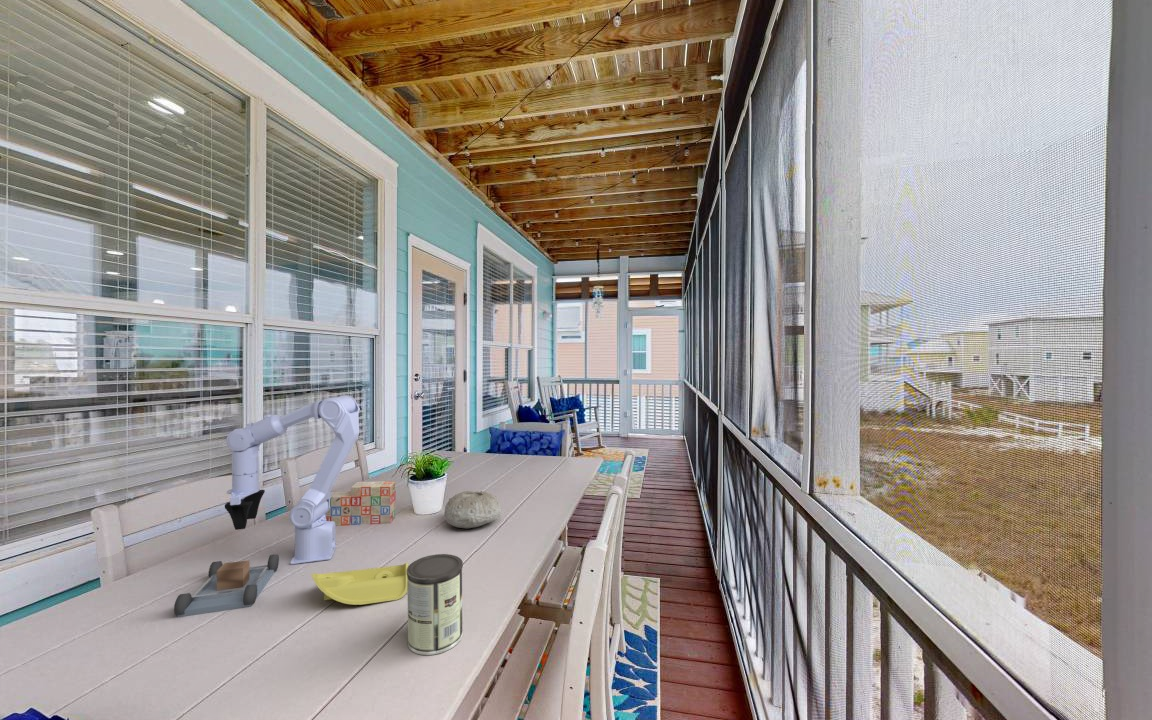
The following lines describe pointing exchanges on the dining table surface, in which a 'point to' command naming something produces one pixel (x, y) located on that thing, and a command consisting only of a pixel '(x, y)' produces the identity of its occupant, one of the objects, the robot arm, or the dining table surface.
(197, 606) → the chassis
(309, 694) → the dining table surface
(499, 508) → the grey rounded lump
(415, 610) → the coffee can
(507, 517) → the dining table surface
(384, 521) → the stack of blocks
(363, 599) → the plastic component
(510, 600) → the dining table surface
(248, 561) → the engine block
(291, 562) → the robot arm
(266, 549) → the dining table surface
